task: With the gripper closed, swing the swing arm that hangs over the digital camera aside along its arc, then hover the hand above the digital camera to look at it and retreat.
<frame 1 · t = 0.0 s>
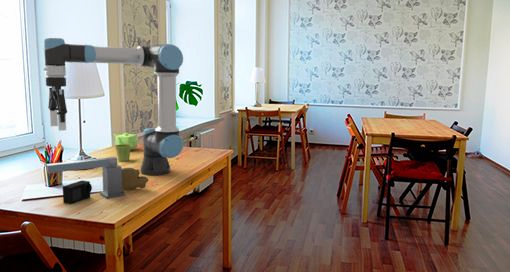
hand: (58, 128, 177), 28 cm above the table, tool pointing down, fingers open, 13 cm apart
plant pot: (123, 160, 246), on the table
wooden carving: (129, 189, 190), on the table
digital camera: (78, 200, 173), on the table
pivot post: (112, 194, 182), on the table
kettle: (125, 150, 275), on the table
swing arm: (83, 164, 172), point 14 cm above the table, hinge at 0.0°
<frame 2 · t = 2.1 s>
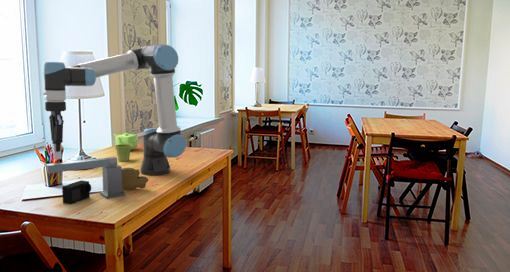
hand: (57, 158, 174), 16 cm above the table, tool pointing down, fingers closed
nothing on the table moved.
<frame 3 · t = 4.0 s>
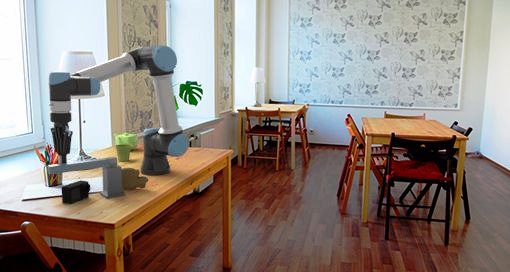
hand: (62, 170, 169), 13 cm above the table, tool pointing down, fingers closed
swing arm: (84, 165, 172), point 14 cm above the table, hinge at 4.8°, touching gripper
everything else where it was.
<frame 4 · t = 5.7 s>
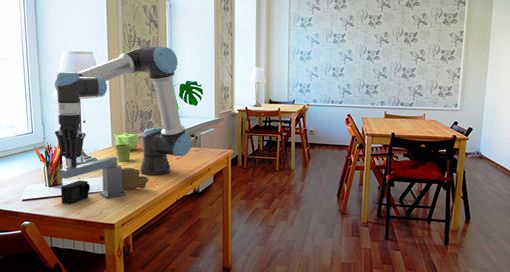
hand: (71, 174, 164), 13 cm above the table, tool pointing down, fingers closed
swing arm: (91, 166, 169), point 14 cm above the table, hinge at 28.0°, touching gripper
everything else where it was.
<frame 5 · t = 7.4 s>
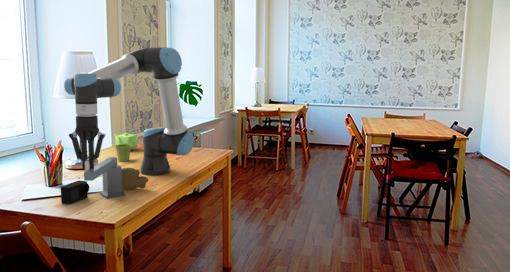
hand: (88, 177, 161), 13 cm above the table, tool pointing down, fingers closed
swing arm: (101, 167, 168), point 14 cm above the table, hinge at 51.8°, touching gripper
everything else where it was.
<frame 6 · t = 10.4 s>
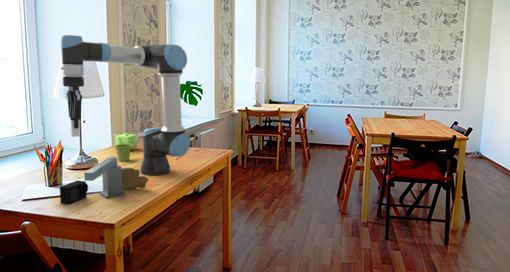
hand: (75, 136, 169), 26 cm above the table, tool pointing down, fingers closed
swing arm: (102, 167, 168), point 14 cm above the table, hinge at 52.2°
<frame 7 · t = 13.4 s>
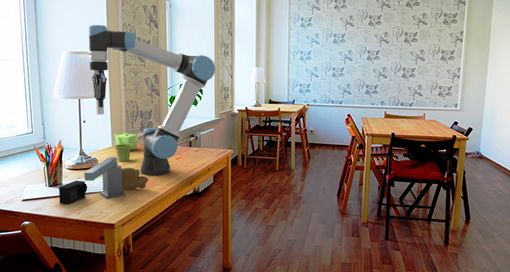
hand: (100, 114, 192), 32 cm above the table, tool pointing down, fingers closed
at the end: swing arm at +52° (first picture: +0°); digital camera moved 1.7 cm from its start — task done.
